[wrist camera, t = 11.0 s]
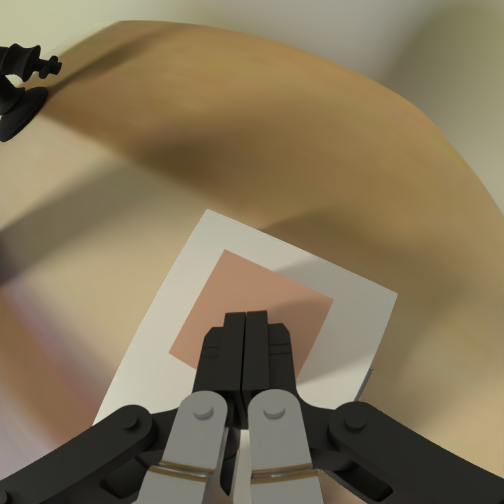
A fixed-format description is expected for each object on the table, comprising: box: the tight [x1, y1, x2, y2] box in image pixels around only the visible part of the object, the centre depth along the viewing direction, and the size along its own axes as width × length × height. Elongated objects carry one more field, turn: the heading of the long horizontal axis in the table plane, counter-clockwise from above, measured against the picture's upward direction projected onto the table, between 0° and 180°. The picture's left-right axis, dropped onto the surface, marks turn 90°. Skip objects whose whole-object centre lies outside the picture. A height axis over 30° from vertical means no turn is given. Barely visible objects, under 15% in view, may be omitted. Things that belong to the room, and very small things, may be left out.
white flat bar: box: [93, 209, 398, 504], centre depth 15 cm, size 38×15×6 cm, turn 153°
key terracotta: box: [169, 249, 334, 380], centre depth 16 cm, size 5×5×10 cm
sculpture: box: [0, 44, 62, 142], centre depth 28 cm, size 15×24×25 cm, turn 95°
